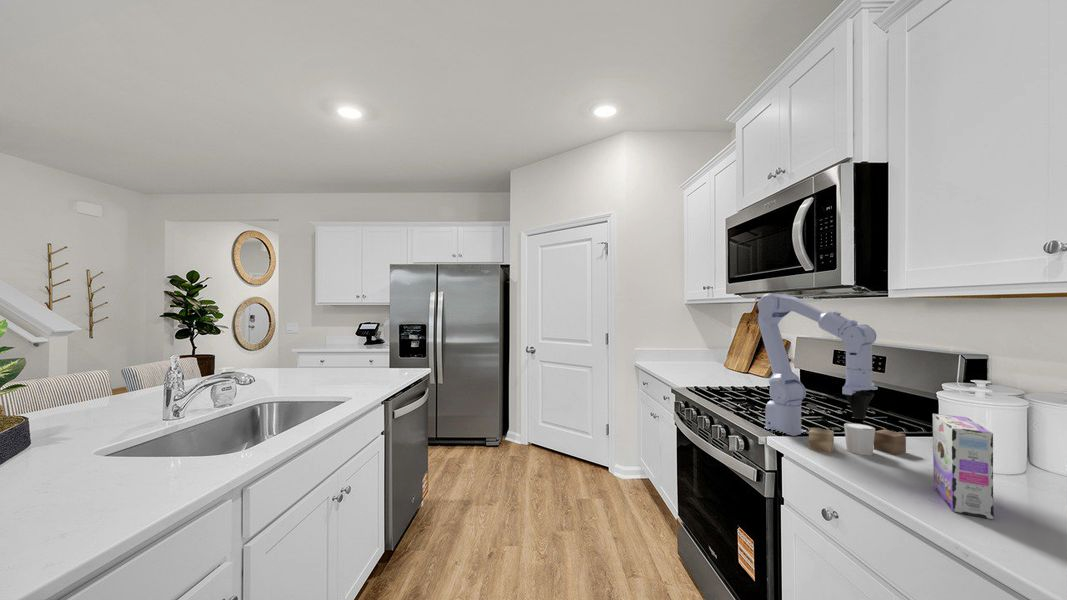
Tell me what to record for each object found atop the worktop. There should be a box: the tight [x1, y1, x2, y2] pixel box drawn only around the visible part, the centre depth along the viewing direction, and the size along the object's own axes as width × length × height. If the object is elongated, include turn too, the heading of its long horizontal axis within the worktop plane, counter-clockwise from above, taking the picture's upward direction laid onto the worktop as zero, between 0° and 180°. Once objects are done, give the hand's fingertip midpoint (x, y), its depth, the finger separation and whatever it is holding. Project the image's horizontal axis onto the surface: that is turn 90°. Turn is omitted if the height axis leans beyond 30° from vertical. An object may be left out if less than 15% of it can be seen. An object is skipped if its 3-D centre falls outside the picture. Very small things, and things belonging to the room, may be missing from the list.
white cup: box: [843, 422, 876, 456], centre depth 114 cm, size 7×7×7 cm
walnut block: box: [873, 429, 907, 456], centre depth 115 cm, size 5×5×5 cm
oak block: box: [808, 427, 835, 454], centre depth 117 cm, size 5×5×5 cm
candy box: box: [931, 413, 995, 520], centre depth 85 cm, size 14×6×16 cm, turn 148°
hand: (858, 418), depth 114 cm, fingers closed
